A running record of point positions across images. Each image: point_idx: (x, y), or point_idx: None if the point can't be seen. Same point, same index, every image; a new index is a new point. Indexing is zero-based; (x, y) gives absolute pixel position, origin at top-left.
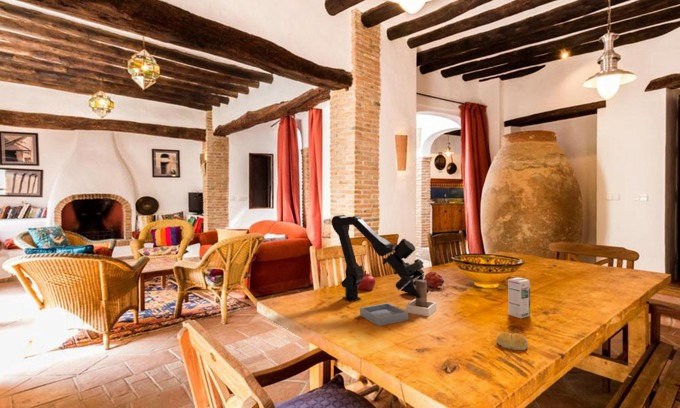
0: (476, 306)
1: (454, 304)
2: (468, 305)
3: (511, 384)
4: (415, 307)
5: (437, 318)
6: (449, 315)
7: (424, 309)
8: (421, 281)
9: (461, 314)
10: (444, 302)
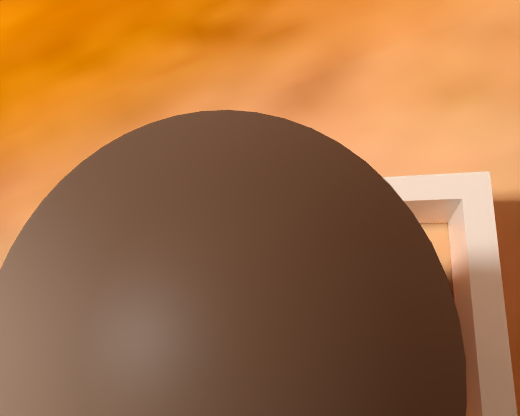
0: (33, 2)
1: (33, 135)
2: (27, 48)
3: None
4: (508, 368)
5: (472, 107)
6: (320, 60)
7: (493, 230)
8: (248, 306)
9: (246, 2)
10: (6, 220)
